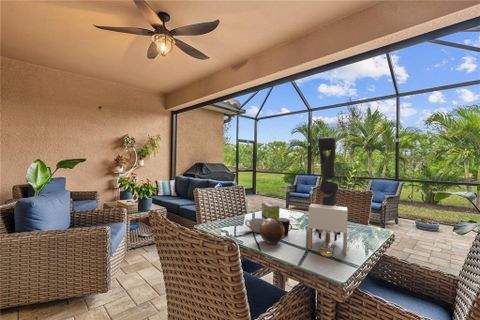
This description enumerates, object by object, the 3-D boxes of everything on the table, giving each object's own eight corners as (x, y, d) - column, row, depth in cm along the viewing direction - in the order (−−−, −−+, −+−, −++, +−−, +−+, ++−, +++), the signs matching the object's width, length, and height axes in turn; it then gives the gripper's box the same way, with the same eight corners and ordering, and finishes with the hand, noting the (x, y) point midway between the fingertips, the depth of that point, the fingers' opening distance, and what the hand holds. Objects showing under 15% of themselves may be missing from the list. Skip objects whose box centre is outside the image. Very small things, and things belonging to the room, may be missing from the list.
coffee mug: (275, 232, 158) (275, 217, 158) (287, 232, 159) (287, 217, 159) (279, 238, 147) (280, 222, 147) (292, 238, 147) (293, 222, 147)
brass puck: (327, 252, 127) (327, 249, 127) (334, 256, 121) (334, 253, 121) (318, 253, 125) (318, 250, 125) (324, 257, 119) (324, 254, 119)
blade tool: (321, 239, 147) (322, 229, 147) (333, 240, 144) (333, 231, 144) (319, 251, 127) (319, 240, 127) (333, 253, 125) (333, 242, 124)
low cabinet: (309, 242, 140) (310, 203, 140) (345, 248, 132) (346, 207, 132) (307, 248, 131) (309, 206, 130) (346, 255, 123) (347, 210, 123)
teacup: (266, 230, 163) (266, 219, 162) (263, 234, 152) (263, 223, 152) (247, 227, 167) (248, 217, 167) (243, 232, 157) (243, 220, 157)
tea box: (261, 219, 190) (261, 202, 190) (272, 219, 192) (272, 201, 192) (267, 225, 175) (267, 205, 175) (279, 224, 178) (280, 205, 177)
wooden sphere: (254, 241, 140) (254, 217, 140) (271, 236, 149) (272, 214, 149) (271, 249, 128) (272, 223, 128) (289, 244, 137) (290, 219, 137)
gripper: (315, 213, 140) (315, 239, 140) (341, 216, 135) (340, 243, 135) (316, 211, 147) (316, 236, 147) (340, 213, 142) (340, 239, 142)
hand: (327, 239), depth 141 cm, fingers open, 8 cm apart
